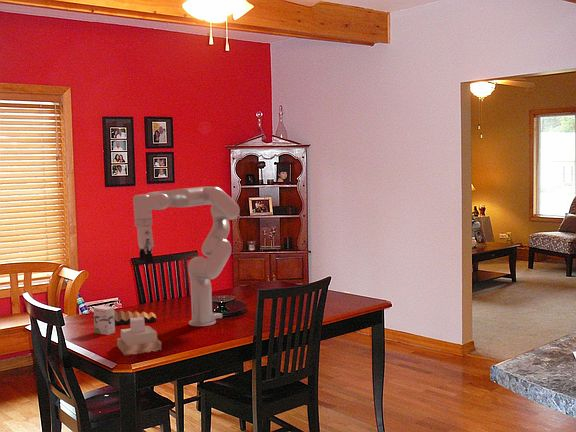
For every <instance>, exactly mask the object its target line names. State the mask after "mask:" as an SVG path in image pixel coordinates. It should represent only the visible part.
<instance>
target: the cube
mask: <svg viewBox="0 0 576 432" xmlns="http://www.w3.org/2000/svg"><path fill="white" fill-rule="evenodd" d="M145 324H146V323H145V320H144V318H143V317H138V318H130V324H129V325H130V328H131V331H132V333H137V332H145V326H146V325H145Z"/></svg>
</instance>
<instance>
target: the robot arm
mask: <svg viewBox="0 0 576 432" xmlns="http://www.w3.org/2000/svg"><path fill="white" fill-rule="evenodd" d="M132 199H133V201H132V202H133V203H132V204H133V216H134V227H135V228H136V231H137V233H136V234H137V242H138V243H137V245H138V247H139V249H138V251H139V252H138V253H139V260H140V261H145V264H152V263H154V260H153V249H154V247H155V246H154V245H155V244H154V235H153V234H154V233H153V228H152V226H153V213H152V212H153V210H154V211H155V210H156V211H161V210H165V209H167V208H191V207H197V206H204V205H205V206H206V205H209V206H210V214H211V216H212V217H211V218H212V221H213V222H212V226H211V229H210V231H209V233H208V234H207V236H206V238H205V240H204V241H203V243H202V246H201V248H200V249H201V253H202V254H203V255H204V256H205V257H204V256H194V257H193V258H191V259H190V261H189V262H188V263H187V271H188V276H189V281H190V300H191V320H189V321H188V325H190V327H191V326H192V327H208V326H209V327H210V326H214V325H215V324H216V323H217V320H216V319H223V313H214V312H213V298H212V282H211V280H214V279H216V278H217V277H219V276H220V274H221V273H222V271H223V269H224V267H225V266H226V264H227V262H228V260H229V258H230V256H231V253H232V244H231V243H230V241H229V240H228V239H227V238H228V236H229V235H230V230H231V228H230V227H231V226H230V225H231V224H230V221H231V220H235V219H237V218H238V217H239V215H240V206H239V204H238V203H237V202H236V201H235V200H234V199H233V198H232V197H231V196H230V195H228V194H227V193H226V192H225V191H224V190H223V189H222V188H220V187H219V186H207V185H206V186H198V187H187V188H186V187H185V188H177V189H176V188H175V189H171V190H170V189H169V190H159V191H151V192H147V193H145V194H144V193H143V194H135V195H133V198H132ZM229 220H230V221H229Z"/></svg>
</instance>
